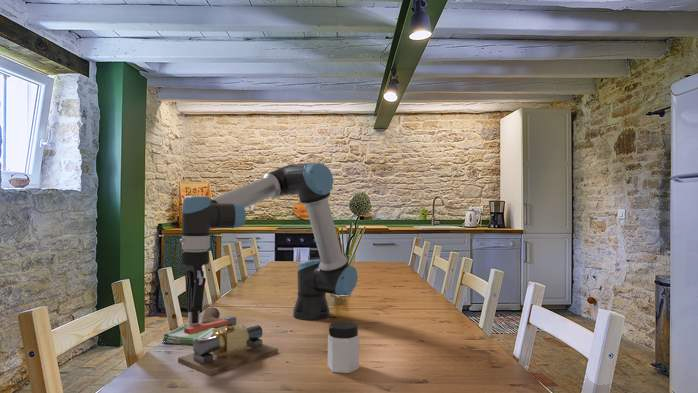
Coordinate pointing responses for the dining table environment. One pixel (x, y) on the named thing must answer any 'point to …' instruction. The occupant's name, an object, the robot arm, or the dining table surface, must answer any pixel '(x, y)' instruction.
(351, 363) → the jar
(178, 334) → the dish towel
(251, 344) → the valve body
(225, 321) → the lever
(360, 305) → the dining table surface
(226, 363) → the mount board
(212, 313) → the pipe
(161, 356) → the dining table surface
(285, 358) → the dining table surface
